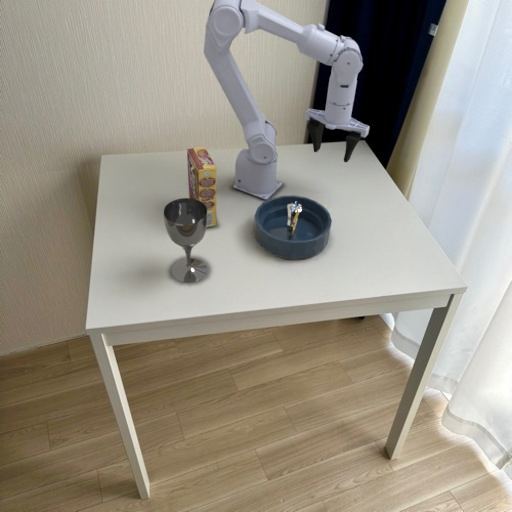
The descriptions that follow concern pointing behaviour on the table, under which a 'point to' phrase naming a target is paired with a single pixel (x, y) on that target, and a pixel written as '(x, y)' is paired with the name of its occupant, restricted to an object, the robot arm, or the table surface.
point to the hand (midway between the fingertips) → (331, 155)
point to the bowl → (275, 227)
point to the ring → (294, 210)
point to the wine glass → (186, 235)
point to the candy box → (202, 180)
